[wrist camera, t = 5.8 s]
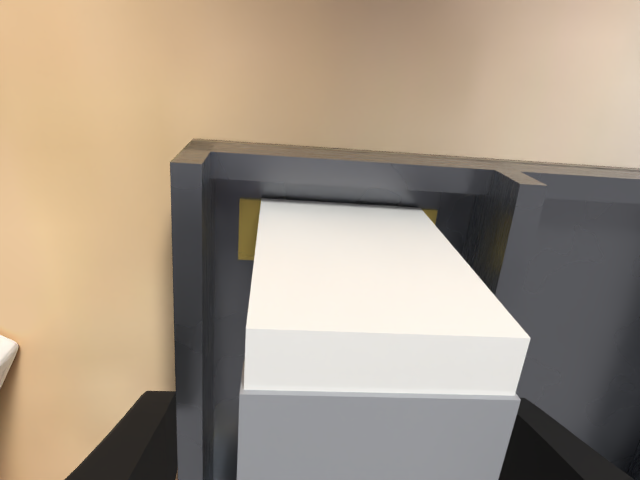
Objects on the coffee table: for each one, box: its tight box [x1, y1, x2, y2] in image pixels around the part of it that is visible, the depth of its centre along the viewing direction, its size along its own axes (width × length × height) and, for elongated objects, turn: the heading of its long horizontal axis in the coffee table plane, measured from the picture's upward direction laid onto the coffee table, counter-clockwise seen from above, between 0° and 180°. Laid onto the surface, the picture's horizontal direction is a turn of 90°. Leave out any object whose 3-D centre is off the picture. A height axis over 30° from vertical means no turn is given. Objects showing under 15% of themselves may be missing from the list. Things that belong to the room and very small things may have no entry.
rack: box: [170, 139, 640, 480], centre depth 14 cm, size 15×11×3 cm
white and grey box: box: [237, 198, 531, 480], centre depth 11 cm, size 4×8×6 cm, turn 175°
